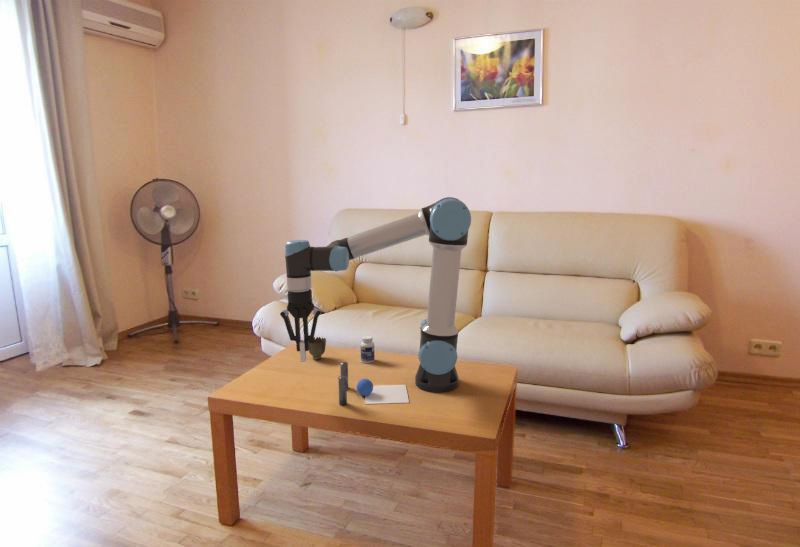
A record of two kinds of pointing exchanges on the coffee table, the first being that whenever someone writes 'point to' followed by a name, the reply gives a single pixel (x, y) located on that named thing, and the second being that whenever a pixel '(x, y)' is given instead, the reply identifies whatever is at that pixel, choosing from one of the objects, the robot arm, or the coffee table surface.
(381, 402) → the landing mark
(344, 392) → the post
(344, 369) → the post
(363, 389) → the ball
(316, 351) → the cup
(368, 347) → the pill bottle
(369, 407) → the coffee table surface
